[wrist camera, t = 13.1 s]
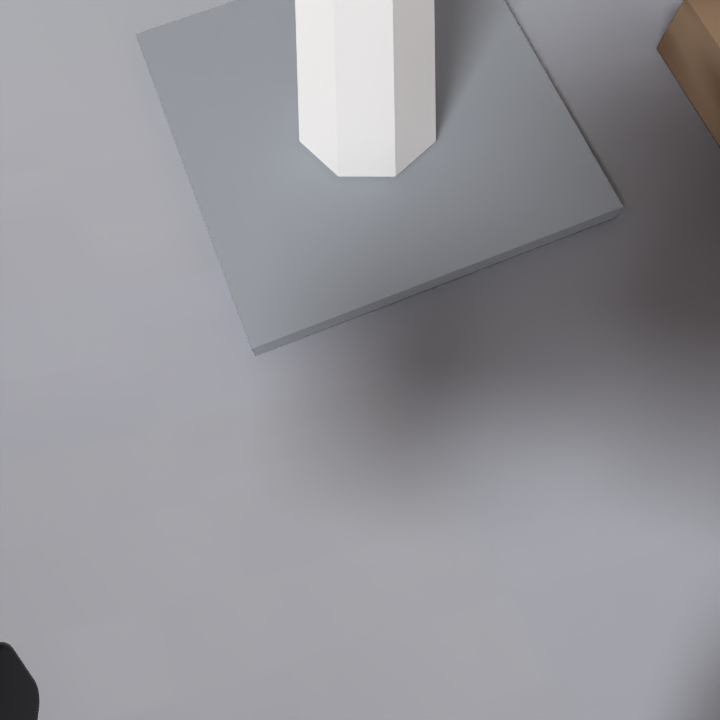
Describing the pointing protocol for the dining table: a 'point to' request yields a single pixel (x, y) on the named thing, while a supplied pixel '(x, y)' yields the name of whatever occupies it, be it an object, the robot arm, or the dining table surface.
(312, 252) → the slate grey mat
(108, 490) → the dining table surface
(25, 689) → the robot arm
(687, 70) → the walnut collar
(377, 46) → the pepper shaker
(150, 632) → the dining table surface
